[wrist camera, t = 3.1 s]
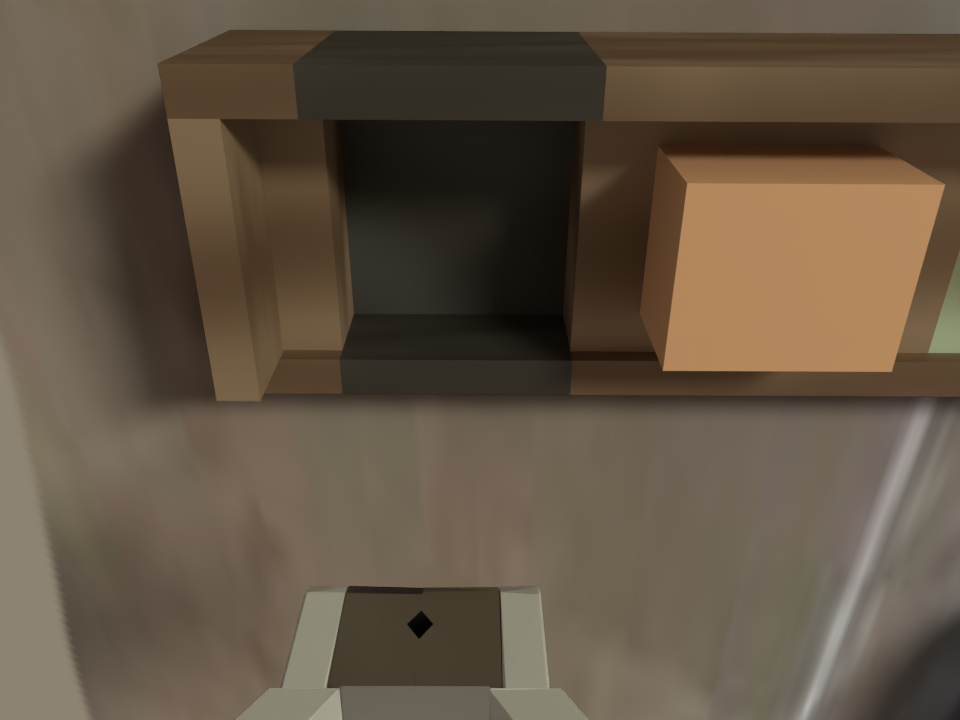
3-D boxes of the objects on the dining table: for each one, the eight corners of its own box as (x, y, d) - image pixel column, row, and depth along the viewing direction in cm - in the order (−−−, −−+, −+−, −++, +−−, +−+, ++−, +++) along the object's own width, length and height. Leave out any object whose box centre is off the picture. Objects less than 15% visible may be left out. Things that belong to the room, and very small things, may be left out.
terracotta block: (658, 145, 22) (687, 183, 19) (880, 147, 22) (945, 184, 19) (639, 313, 24) (663, 371, 21) (839, 314, 24) (891, 371, 21)
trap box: (229, 30, 23) (157, 63, 18) (1617, 38, 23) (1945, 74, 18) (271, 339, 28) (223, 437, 23) (1422, 345, 28) (1638, 443, 23)
